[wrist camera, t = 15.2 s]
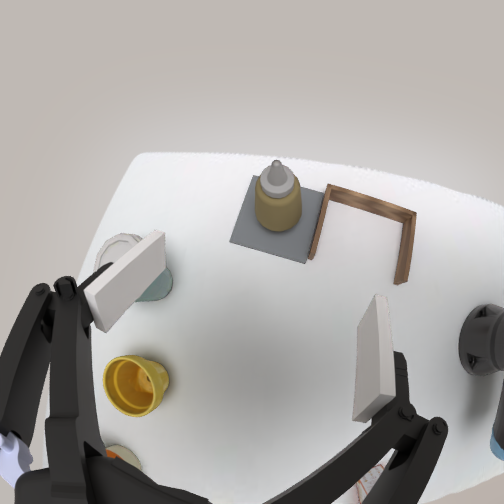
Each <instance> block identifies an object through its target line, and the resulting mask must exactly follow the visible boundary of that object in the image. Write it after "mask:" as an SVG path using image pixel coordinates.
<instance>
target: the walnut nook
mask: <svg viewBox="0 0 504 504" xmlns="http://www.w3.org/2000/svg"><path fill="white" fill-rule="evenodd" d="M329 200H332V201H335V202H339V203H342V204H345V205H349V206H352V207H355V208H358V209H362V210H365V211H368V212H371V213H374V214H377V215H380V216H383V217H386V218H389V219H392V220H395V221H398V222H401V223H403V231H402V238H401V245H400V251H399V258H398V263H397V269H396V274H395V279H394V284H395V285H399V284H402V283H405V282H407V281H408V275H409V270H410V263H411V257H412V250H413V243H414V234H415V225H416V214H417V213H416V212H414V211H411V210H408V209H406V208H403V207H400V206H397V205H394V204H391V203H389V202H386V201H383V200H380V199H377V198H374V197H371V196H367V195H364V194H361V193H358V192H355V191H352V190H348V189H345V188H342V187H338V186H335V185H331V184H328V185H327V188H326V191H325V194H324V198H323V202H322V206H321V210H320V214H319V218H318V222H317V226H316V230H315V234H314V238H313V241H312V245H311V249H310V253H309V256H308V259H310V260H312V259H313V257H314V255H315V253H316V249H317V245H318V241H319V238H320V234H321V230H322V226H323V222H324V218H325V213H326V209H327V205H328V201H329Z"/></svg>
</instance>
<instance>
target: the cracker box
mask: <svg viewBox="0 0 504 504" xmlns="http://www.w3.org/2000/svg"><path fill="white" fill-rule="evenodd" d="M383 470H384V468H383V467H382V465H378V466H376V467H373V468H372V469H371V470H370V471H369V472H367V473H366V474H365V475H364V476H363V477H362V478H361V479H360V480H359V481H358V482H357V489H358V495H359V501H360V504H361V503H362V502H363V500H364V499H365V497H366V496H367V495H368V493H369V492H370V490H371V489H372V487H373V486H374V484H375V483H376V481H377V480H378V478H379V476H380V475H381V473H382V472H383Z"/></svg>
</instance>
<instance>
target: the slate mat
mask: <svg viewBox="0 0 504 504" xmlns="http://www.w3.org/2000/svg"><path fill="white" fill-rule="evenodd" d="M258 178H259V176H255V175H253V177H252V180H251V183H250V185H249V188H248V191H247V194H246V196H245V199H244V202H243V205H242V207H241V210H240V213H239V216H238V219H237V221H236V224H235V227H234V230H233V233H232V236H231V239H230V242H231V243H235V244H238V245H242V246H245V247H248V248H252V249H255V250H259V251H262V252H266V253H269V254H273V255H276V256H280V257H283V258H287V259H290V260H294V261H297V262H301V263H304V264H305V263H306V260H307V256H308V252H309V249H310V245H311V241H312V237H313V234H314V230H315V226H316V222H317V218H318V214H319V210H320V206H321V202H322V198H323V194H324V193H322V192H318V191H314V190H311V189H307V188H303V187H300V189H301V200H302V215H301V217H300V219H299V221H298V223H297V224H296V225H294V226H293V227H292V228H291V229H288V230H284V231H281V232H279V231H271V230H269V229H267V228H265V227H263V226H262V225H261V223H260V222H259V221H258V220H257V217H256V214H255V186H256V181H257V179H258Z"/></svg>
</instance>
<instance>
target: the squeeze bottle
mask: <svg viewBox="0 0 504 504" xmlns="http://www.w3.org/2000/svg"><path fill="white" fill-rule="evenodd" d="M255 214H256V217H257V220H258V221H259V222H260V223H261V225H262V226H263V227H265V228H267V229H269V230H271V231H279V232H281V231H284V230H288V229H291V228H292V227H293V226H294V225H296V224H297V223H298V221H299V219H300V217H301V215H302V200H301V189H300V183H299V181H298V178H297V177H296V176H295V175H294V174H293V172H292V171H291V170H290V169H289V168H288V167H286V166H284V165H282V163H281V162H280V161H279V160H274V161H273V162H272V165H270V166H268V167H267V168H265V169H264V170H263V172H262V173H261V175H260V176H259V178H258V179H257V181H256V186H255Z"/></svg>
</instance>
